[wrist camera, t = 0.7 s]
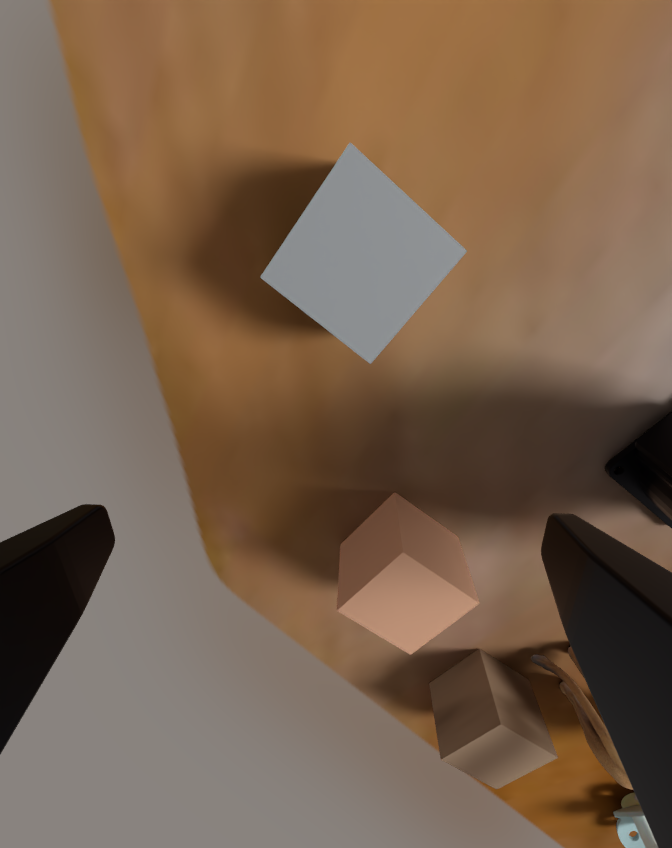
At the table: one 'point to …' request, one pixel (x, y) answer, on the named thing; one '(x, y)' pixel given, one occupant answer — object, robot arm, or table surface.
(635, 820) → the pacifier
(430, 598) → the terracotta block
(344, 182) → the slate grey block
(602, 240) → the table surface
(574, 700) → the lion figurine
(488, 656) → the walnut block
